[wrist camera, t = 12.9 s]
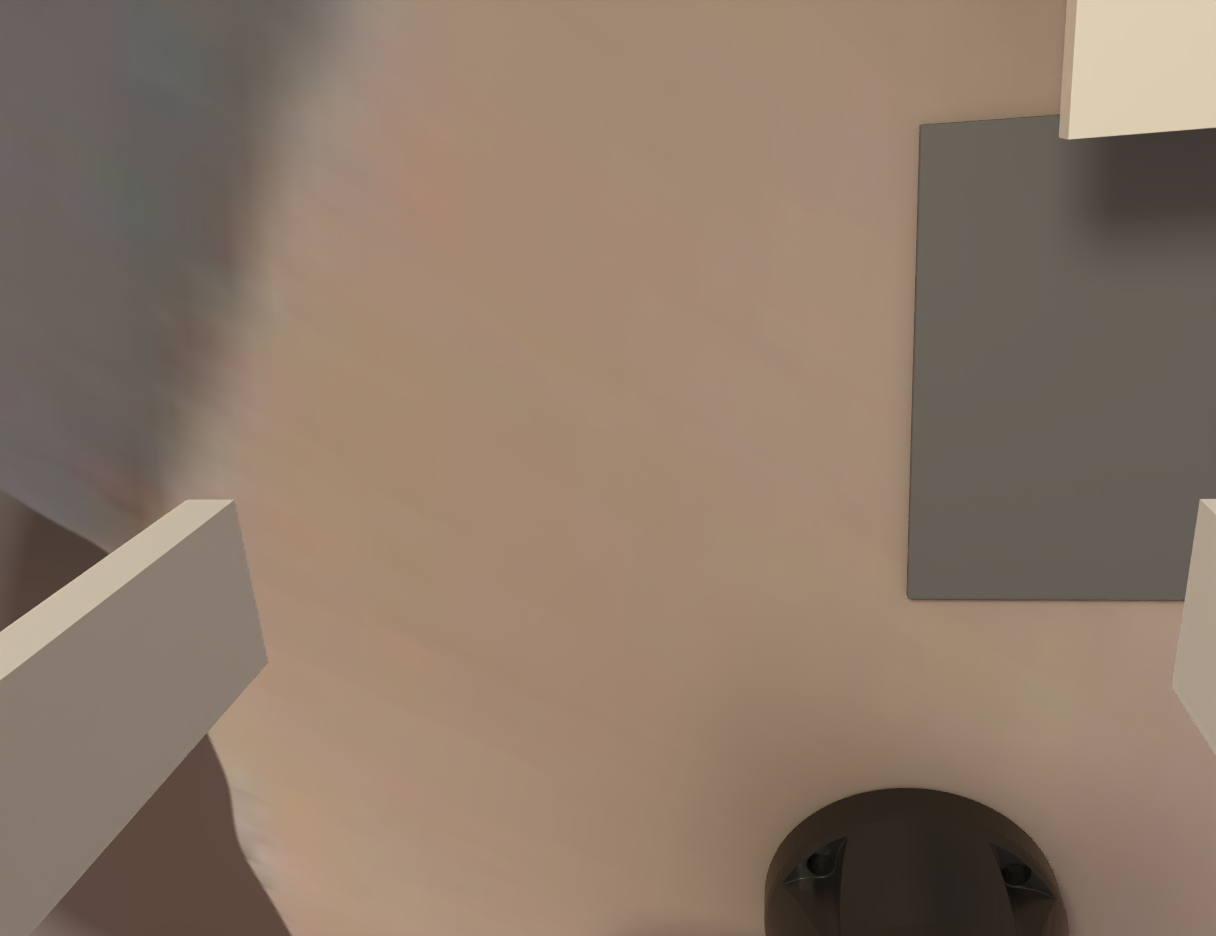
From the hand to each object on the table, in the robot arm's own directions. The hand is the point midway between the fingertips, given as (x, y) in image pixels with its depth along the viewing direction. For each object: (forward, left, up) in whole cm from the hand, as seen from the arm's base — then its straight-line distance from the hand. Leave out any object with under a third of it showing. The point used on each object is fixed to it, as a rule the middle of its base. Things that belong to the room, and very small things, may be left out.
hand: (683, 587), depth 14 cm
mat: (-6, -18, -32) cm, 37 cm away
